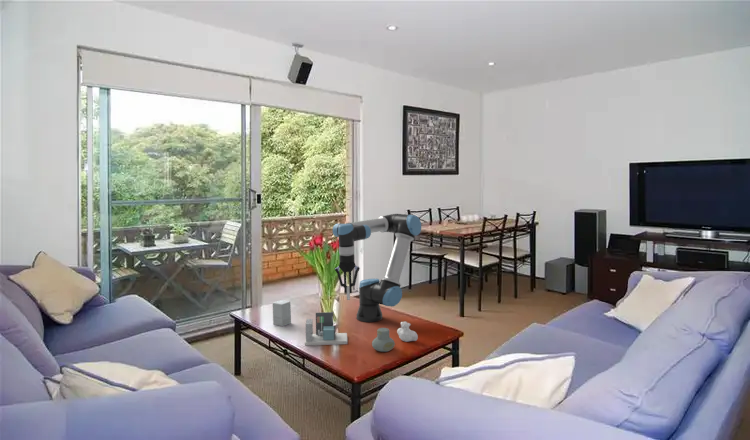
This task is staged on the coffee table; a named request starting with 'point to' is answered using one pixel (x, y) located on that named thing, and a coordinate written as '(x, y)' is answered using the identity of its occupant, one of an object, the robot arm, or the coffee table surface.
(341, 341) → the gauge stand
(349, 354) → the coffee table surface
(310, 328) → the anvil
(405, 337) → the duck figurine
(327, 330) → the block
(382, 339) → the air freshener
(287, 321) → the supplement box
